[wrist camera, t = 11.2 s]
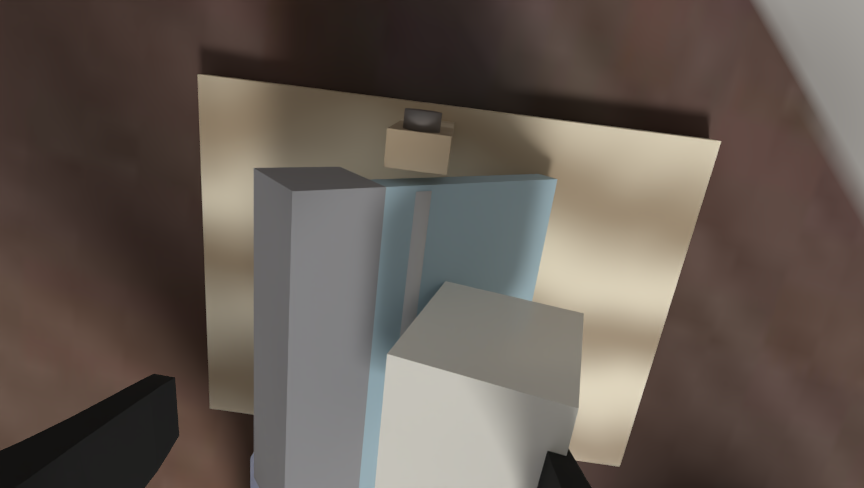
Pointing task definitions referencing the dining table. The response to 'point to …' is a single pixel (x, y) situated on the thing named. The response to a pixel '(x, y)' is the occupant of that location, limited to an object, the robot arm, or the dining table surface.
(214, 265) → the beige slab
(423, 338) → the limestone block
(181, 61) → the dining table surface
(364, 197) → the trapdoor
